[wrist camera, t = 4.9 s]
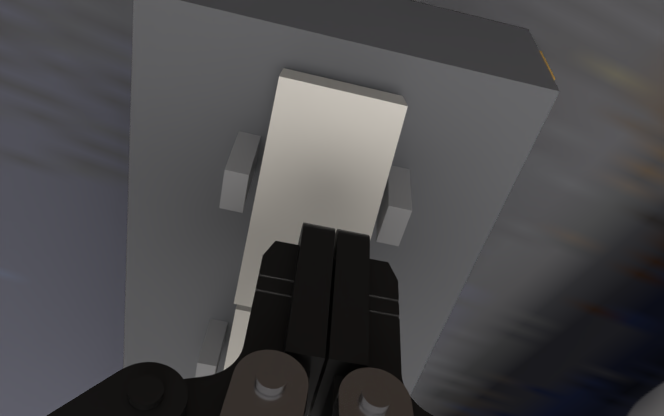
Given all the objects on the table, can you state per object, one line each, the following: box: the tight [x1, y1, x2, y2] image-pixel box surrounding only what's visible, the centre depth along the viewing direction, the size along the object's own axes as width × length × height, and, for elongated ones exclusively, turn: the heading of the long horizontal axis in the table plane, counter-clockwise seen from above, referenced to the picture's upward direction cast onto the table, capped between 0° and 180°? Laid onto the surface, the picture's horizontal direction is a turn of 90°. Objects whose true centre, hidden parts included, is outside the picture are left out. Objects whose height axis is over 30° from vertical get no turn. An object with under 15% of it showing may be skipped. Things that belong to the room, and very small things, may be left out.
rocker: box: [234, 68, 408, 307], centre depth 21 cm, size 8×4×2 cm, turn 168°
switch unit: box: [123, 0, 560, 395], centre depth 30 cm, size 30×14×8 cm, turn 167°
